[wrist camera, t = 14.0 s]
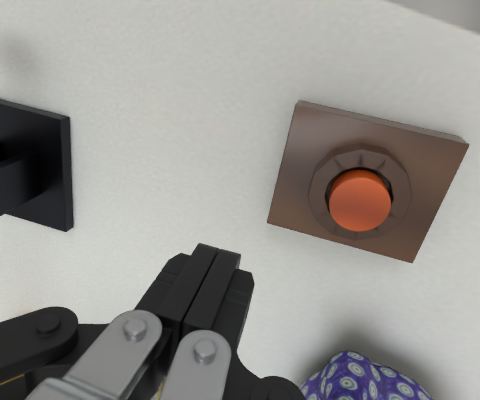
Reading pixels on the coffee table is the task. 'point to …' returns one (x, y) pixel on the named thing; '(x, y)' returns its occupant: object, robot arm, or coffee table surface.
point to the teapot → (360, 381)
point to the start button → (359, 200)
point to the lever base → (35, 166)
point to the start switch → (371, 159)
